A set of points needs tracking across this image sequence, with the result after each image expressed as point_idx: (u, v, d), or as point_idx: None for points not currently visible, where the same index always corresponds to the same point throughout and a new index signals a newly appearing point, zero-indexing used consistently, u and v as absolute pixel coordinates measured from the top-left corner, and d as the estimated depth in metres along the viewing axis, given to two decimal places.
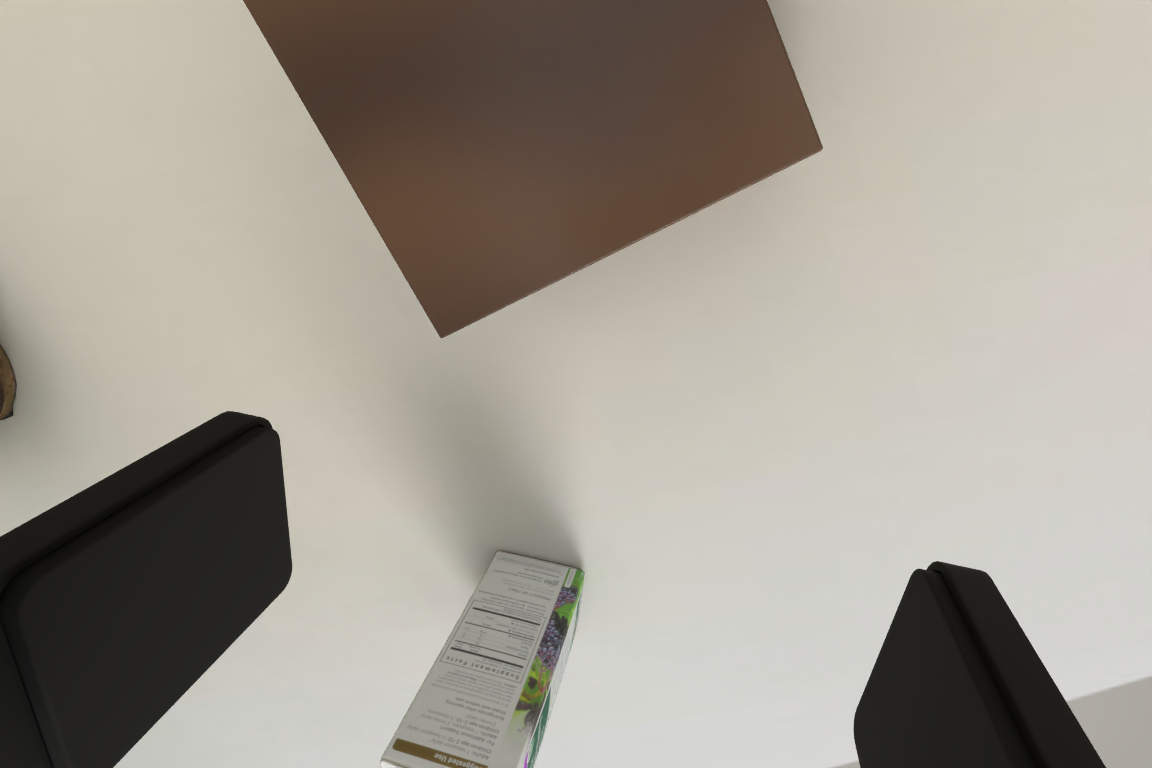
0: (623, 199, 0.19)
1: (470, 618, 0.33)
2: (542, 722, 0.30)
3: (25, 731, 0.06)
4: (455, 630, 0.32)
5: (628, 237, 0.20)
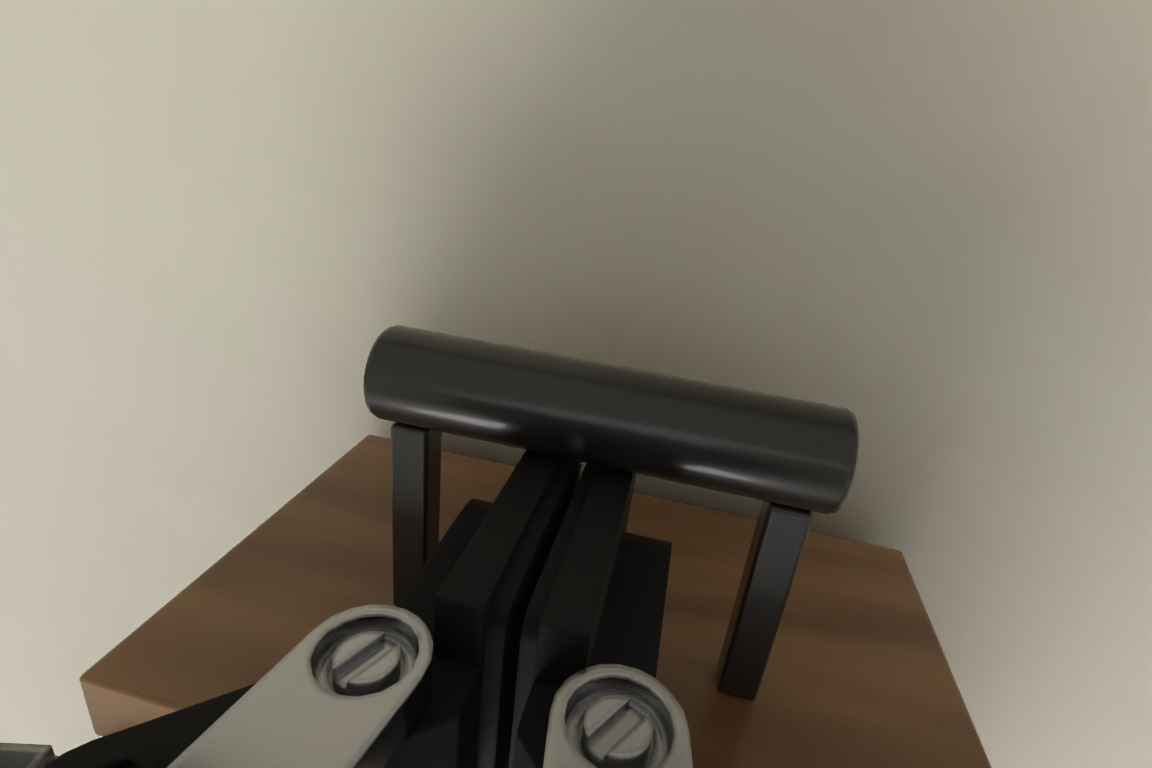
0: None
1: None
2: None
3: (474, 738, 0.07)
4: None
5: None
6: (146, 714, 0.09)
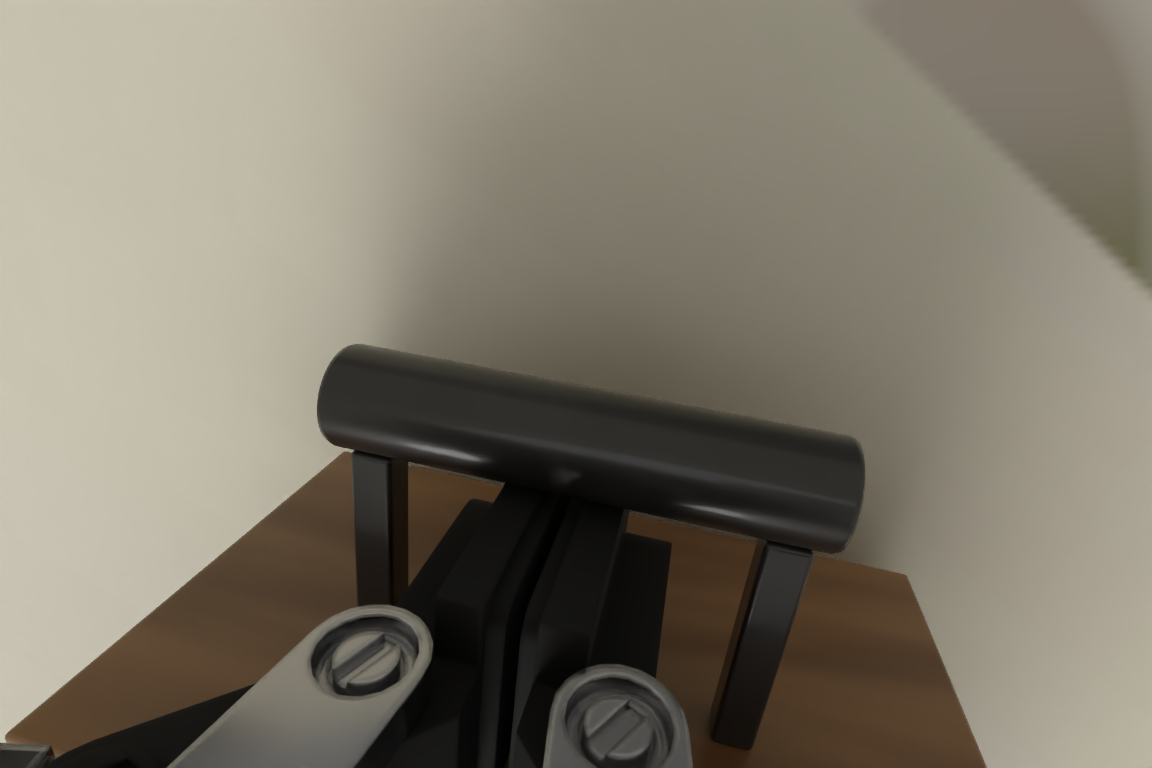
0: None
1: None
2: None
3: (474, 740, 0.07)
4: None
5: None
6: None
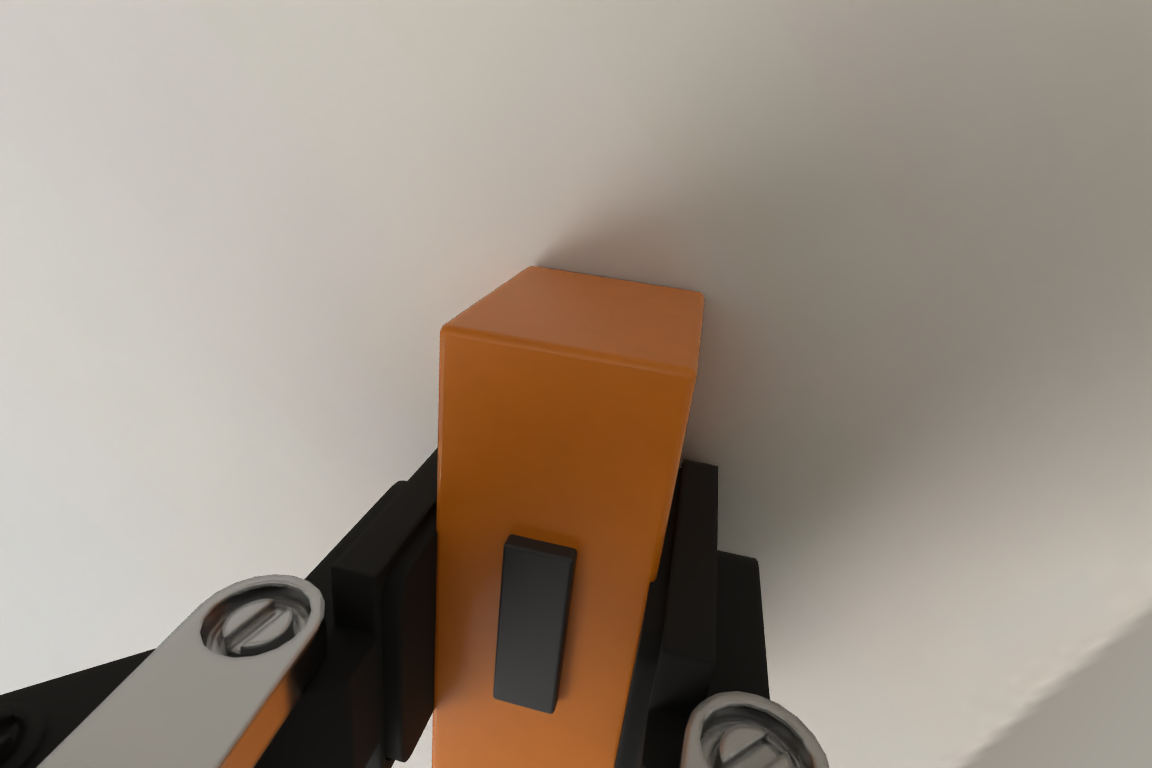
0: None
1: None
2: None
3: (379, 707, 0.07)
4: None
5: None
6: None
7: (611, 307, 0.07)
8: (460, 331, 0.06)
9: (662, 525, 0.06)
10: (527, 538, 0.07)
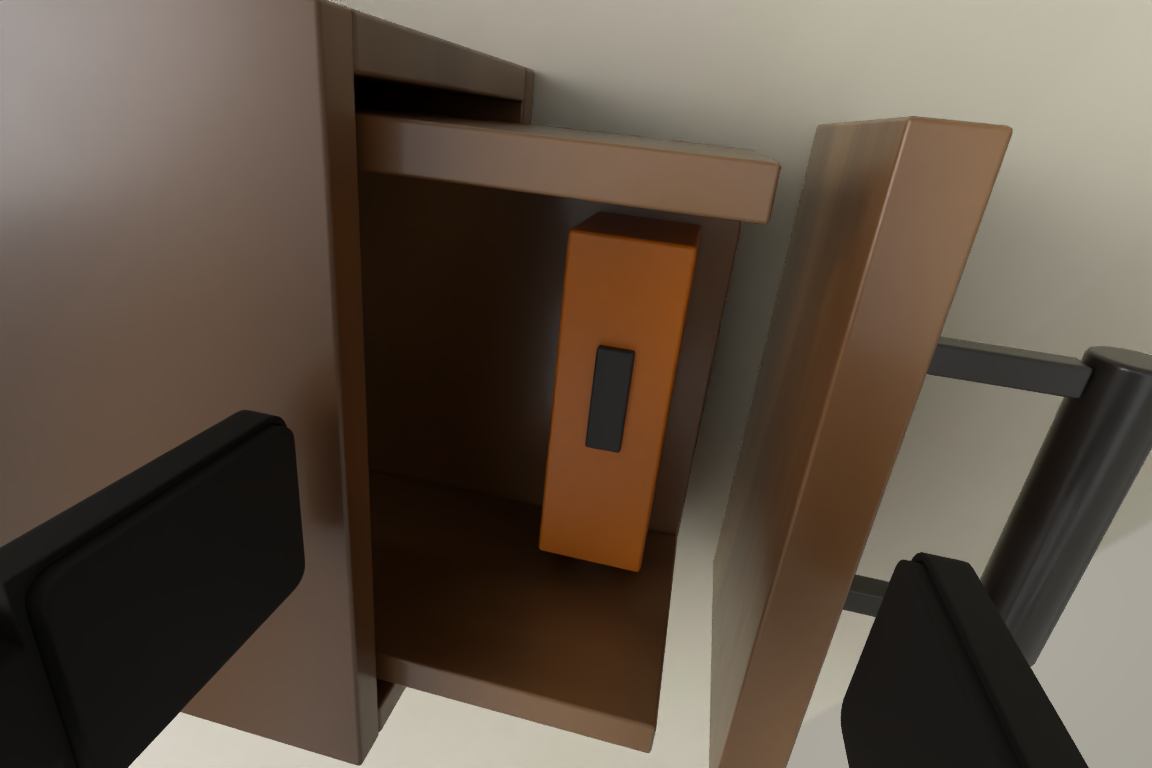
0: None
1: None
2: None
3: (50, 724, 0.06)
4: None
5: None
6: (953, 216, 0.08)
7: (651, 227, 0.13)
8: (579, 232, 0.12)
9: (680, 333, 0.13)
10: (608, 345, 0.13)
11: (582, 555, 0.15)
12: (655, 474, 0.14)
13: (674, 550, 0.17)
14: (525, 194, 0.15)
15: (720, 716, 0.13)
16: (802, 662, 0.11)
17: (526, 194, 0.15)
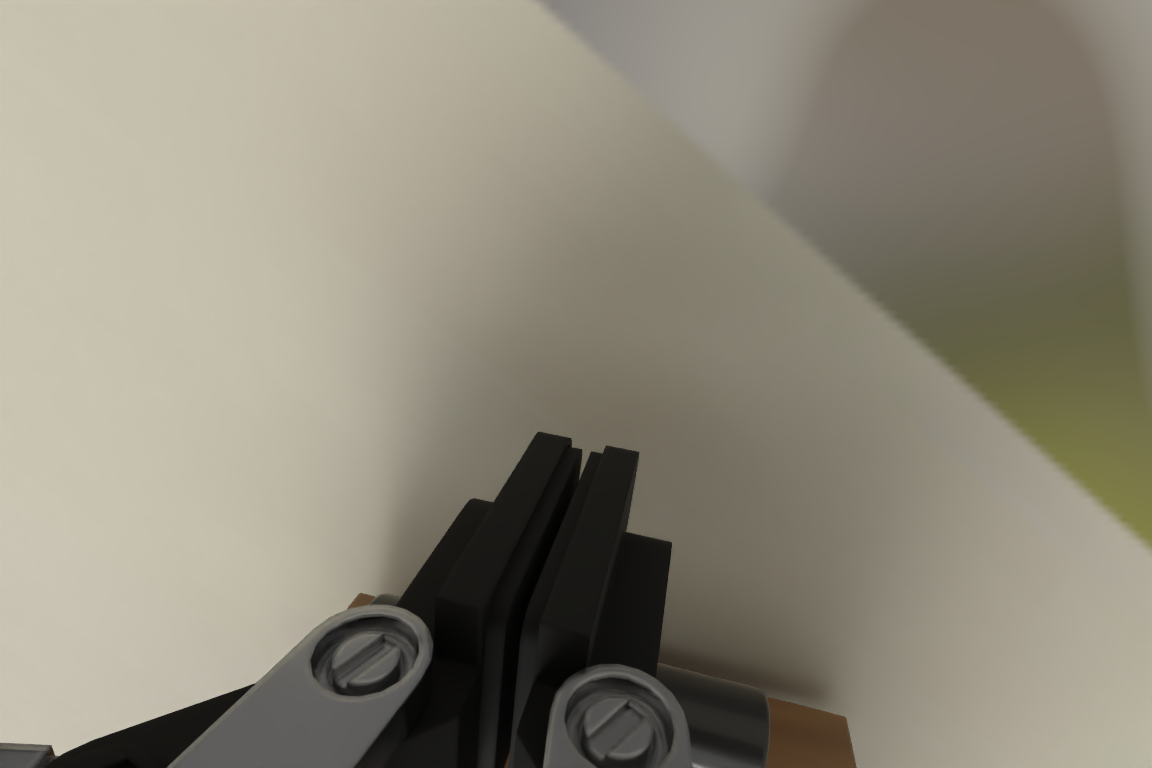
0: None
1: None
2: None
3: (475, 739, 0.07)
4: None
5: None
6: None
7: None
8: None
9: None
10: None
11: None
12: None
13: None
14: None
15: None
16: None
17: None
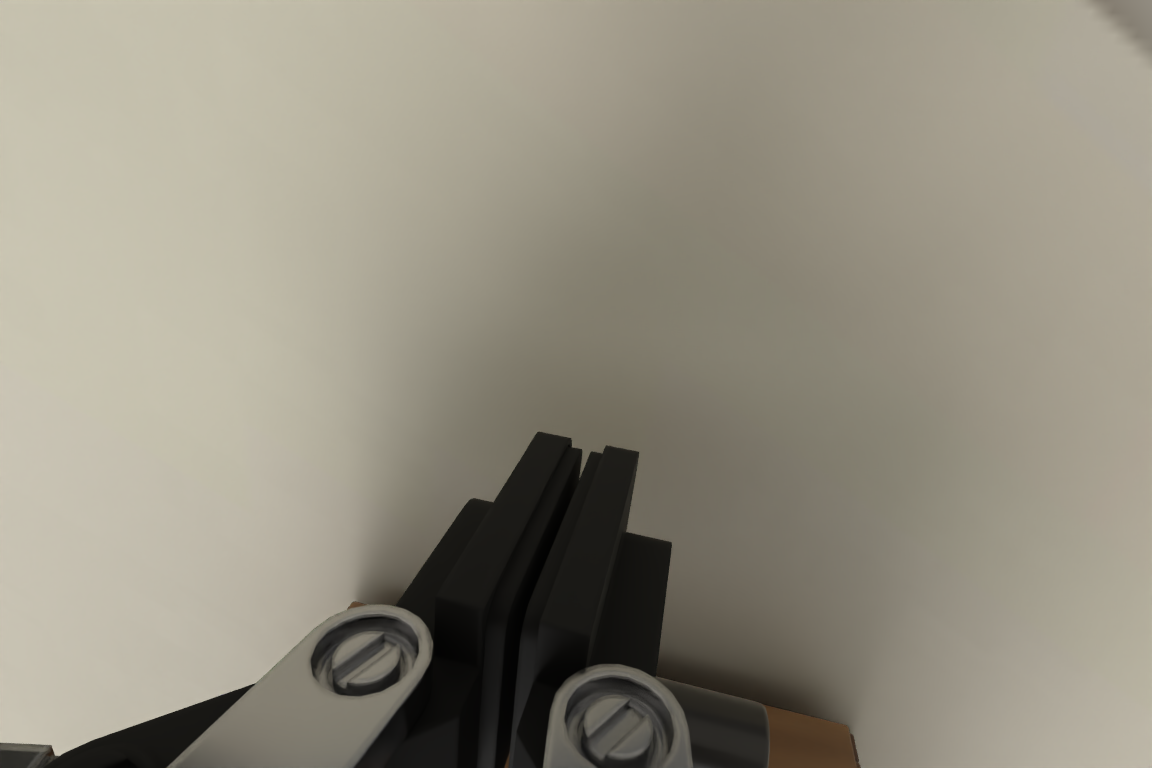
0: None
1: None
2: None
3: (475, 740, 0.07)
4: None
5: None
6: None
7: None
8: None
9: None
10: None
11: None
12: None
13: None
14: None
15: None
16: None
17: None
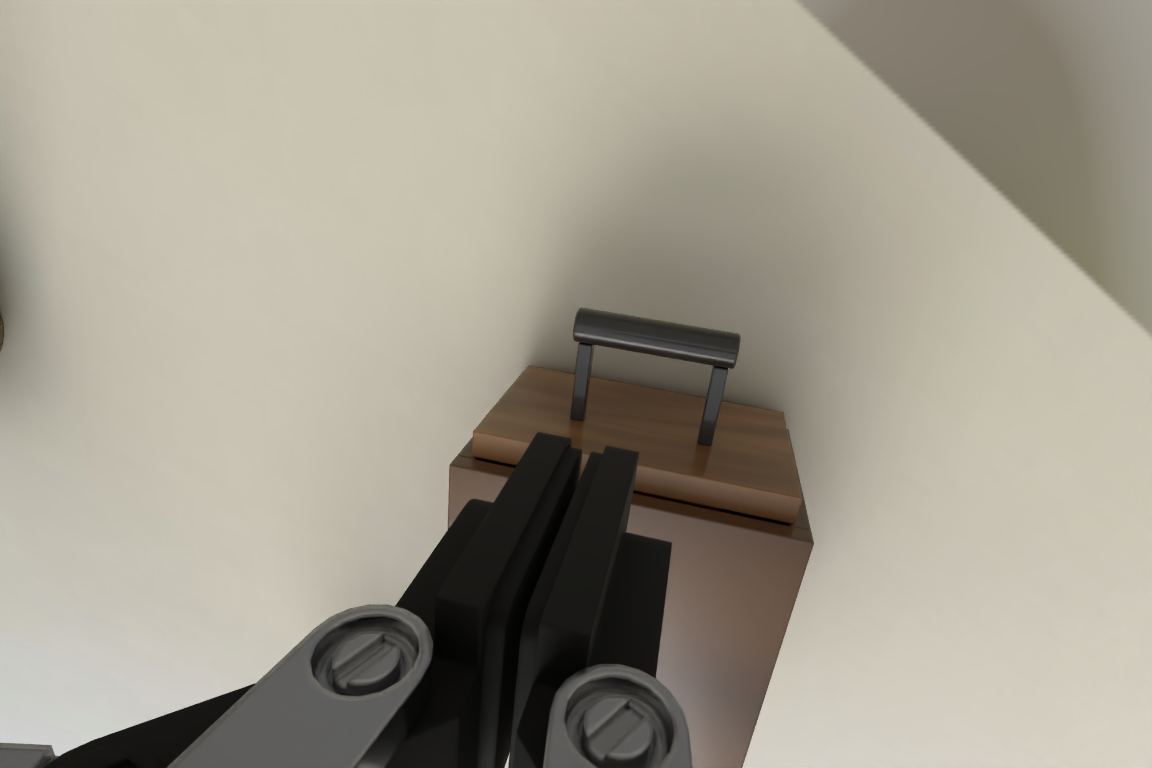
0: None
1: None
2: None
3: (474, 739, 0.07)
4: None
5: None
6: (497, 443, 0.25)
7: None
8: None
9: None
10: None
11: None
12: (655, 495, 0.28)
13: None
14: None
15: None
16: (686, 482, 0.23)
17: None
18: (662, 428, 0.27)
